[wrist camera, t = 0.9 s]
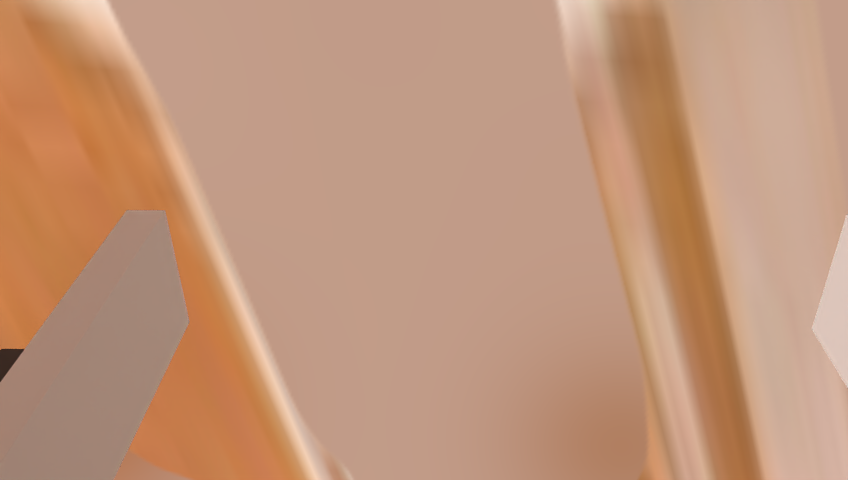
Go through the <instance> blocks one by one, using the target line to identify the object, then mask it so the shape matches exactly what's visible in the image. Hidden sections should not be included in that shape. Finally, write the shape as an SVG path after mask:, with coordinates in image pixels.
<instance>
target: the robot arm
mask: <svg viewBox="0 0 848 480" xmlns="http://www.w3.org/2000/svg"><path fill="white" fill-rule="evenodd" d="M188 324H189V318H188V313H187V308H186V304H185V299H184V295H183V290H182V286H181V281H180V276H179V272H178V267H177V263H176V258H175V254H174V249H173V245H172V240H171V235H170V231H169V226H168V222H167V217H166V213H165V210H127V211H126V212H125V213H124V215H123V216H122V217H121V219H120V220H119V222H118V223H117V224H116V226H115V227H114V228H113V230H112V231H111V232H110V234H109V235H108V236H107V238H106V239H105V241H104V242H103V243H102V245H101V246H100V247H99V249H98V250H97V251H96V253H95V254H94V256H93V257H92V258H91V260H90V261H89V262H88V264H87V265H86V266H85V268H84V269H83V271H82V272H81V273H80V275H79V276H78V277H77V279H76V280H75V281H74V283H73V284H72V285H71V287H70V288H69V290H68V291H67V292H66V294H65V295H64V296H63V298H62V299H61V300H60V302H59V303H58V305H57V306H56V307H55V309H54V310H53V311H52V313H51V314H50V315H49V317H48V318H47V319H46V321H45V322H44V324H43V325H42V326H41V328H40V329H39V330H38V332H37V333H36V334H35V336H34V337H33V339H32V340H31V341H30V343H29V344H28V345H27V347H26V348H25V349H1V350H0V480H113V479H114V478H115V476H116V474H117V472H118V469H119V467H120V465H121V463H122V461H123V459H124V457H125V455H126V453H127V451H128V449H129V447H130V445H131V442H132V440H133V438H134V436H135V434H136V432H137V430H138V428H139V426H140V424H141V422H142V420H143V417H144V415H145V413H146V411H147V409H148V407H149V405H150V403H151V401H152V399H153V397H154V395H155V393H156V390H157V388H158V386H159V384H160V382H161V380H162V378H163V376H164V374H165V372H166V370H167V368H168V365H169V363H170V361H171V359H172V357H173V355H174V353H175V351H176V349H177V347H178V345H179V343H180V340H181V338H182V336H183V334H184V332H185V330H186V328H187V326H188ZM812 330H813V332H814V334H815V335H816V337H817V339H818V340H819V342H820V344H821V345H822V347H823V349H824V350H825V352H826V353H827V355H828V357H829V358H830V360H831V362H832V363H833V365H834V367H835V368H836V370H837V372H838V373H839V375H840V377H841V378H842V380H843V381H844V383H845V385H846V386H847V388H848V214H847V215H846V219H845V222H844V225H843V228H842V232H841V235H840V238H839V242H838V245H837V248H836V251H835V255H834V258H833V261H832V264H831V268H830V271H829V274H828V278H827V281H826V284H825V287H824V291H823V294H822V297H821V300H820V304H819V307H818V310H817V314H816V317H815V320H814V323H813V327H812Z"/></svg>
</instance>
